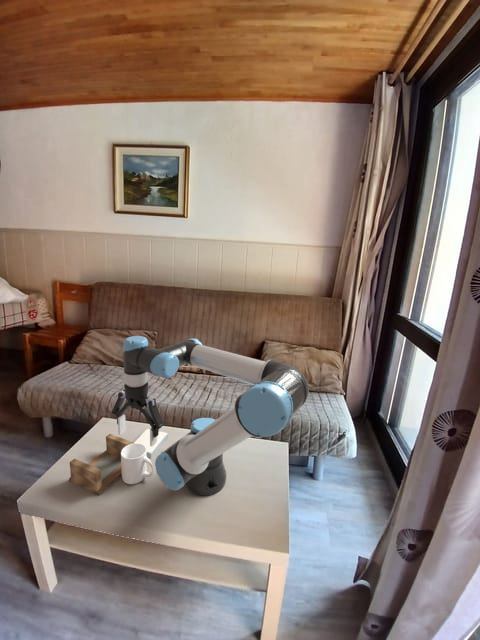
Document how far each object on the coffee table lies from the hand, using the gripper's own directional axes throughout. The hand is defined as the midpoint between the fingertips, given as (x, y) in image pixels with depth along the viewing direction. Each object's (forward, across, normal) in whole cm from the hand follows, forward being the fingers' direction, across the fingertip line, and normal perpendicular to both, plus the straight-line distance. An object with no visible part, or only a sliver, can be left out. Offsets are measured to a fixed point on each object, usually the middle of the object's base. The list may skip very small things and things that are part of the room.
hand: (137, 438), depth 107 cm
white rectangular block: (+16, +8, -16) cm, 24 cm away
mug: (+16, 0, 0) cm, 17 cm away
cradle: (+16, +13, +3) cm, 21 cm away
